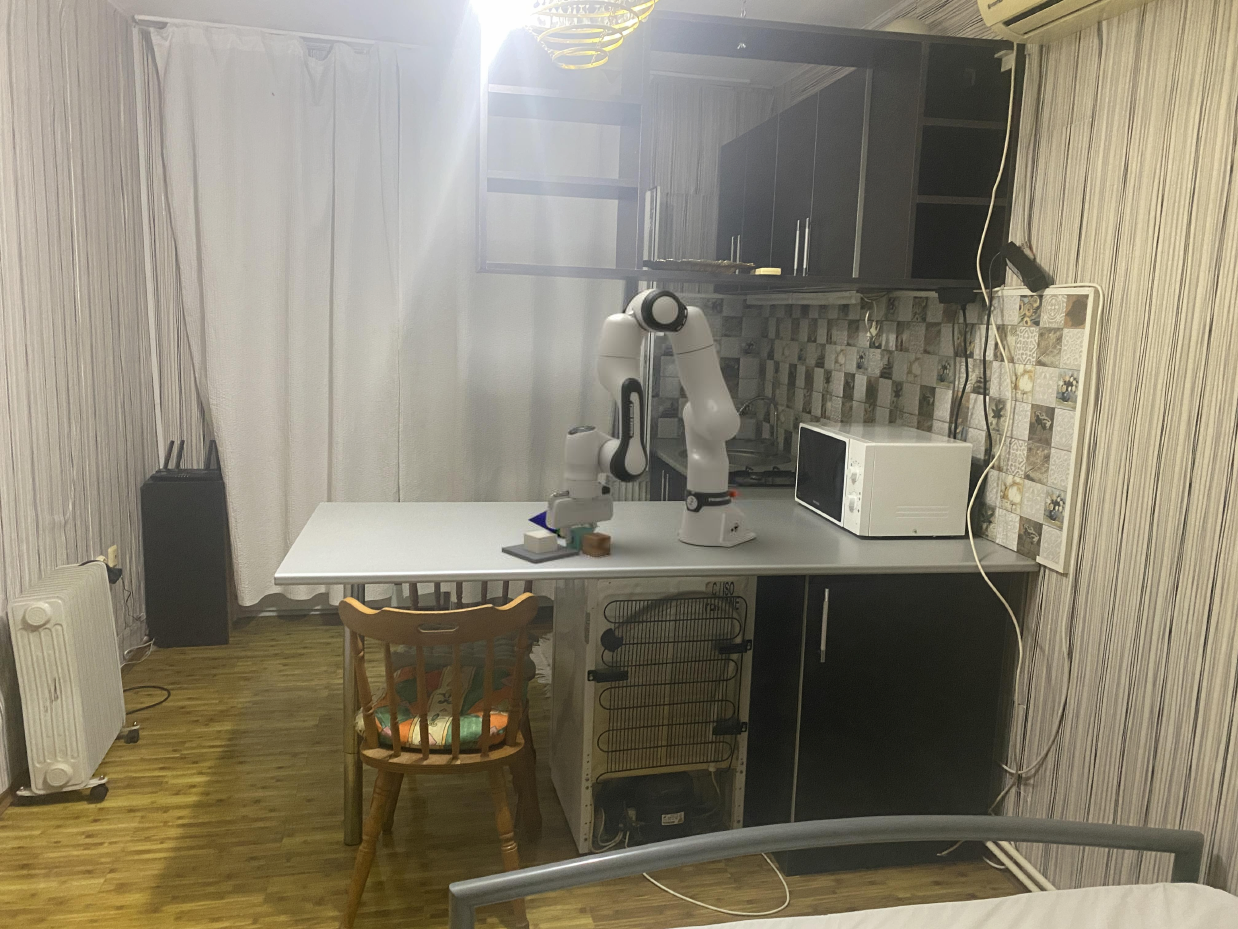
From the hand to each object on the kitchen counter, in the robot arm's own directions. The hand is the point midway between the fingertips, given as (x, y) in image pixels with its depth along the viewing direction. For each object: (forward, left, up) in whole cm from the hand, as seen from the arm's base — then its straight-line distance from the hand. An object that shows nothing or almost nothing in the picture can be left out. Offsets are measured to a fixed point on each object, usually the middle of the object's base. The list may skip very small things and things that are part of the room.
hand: (579, 541), depth 240 cm
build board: (+12, -1, -2) cm, 12 cm away
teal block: (0, 0, -2) cm, 2 cm away
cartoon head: (-5, -13, -2) cm, 14 cm away
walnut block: (+1, +8, -2) cm, 8 cm away
